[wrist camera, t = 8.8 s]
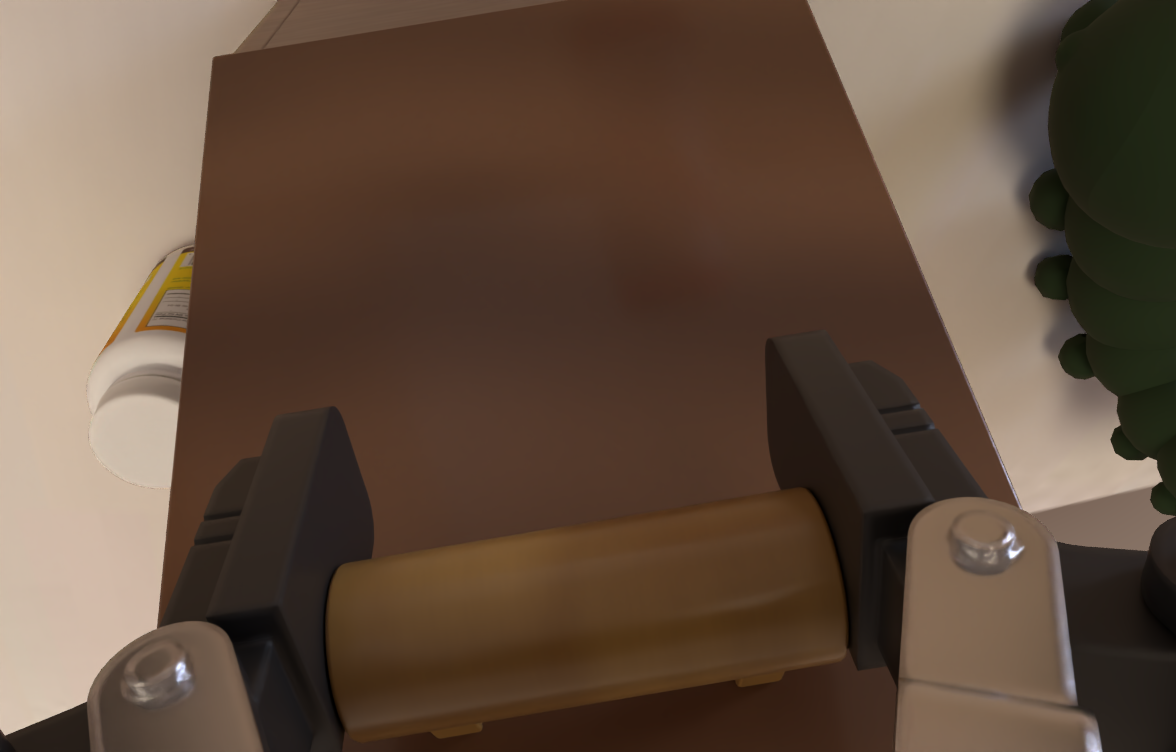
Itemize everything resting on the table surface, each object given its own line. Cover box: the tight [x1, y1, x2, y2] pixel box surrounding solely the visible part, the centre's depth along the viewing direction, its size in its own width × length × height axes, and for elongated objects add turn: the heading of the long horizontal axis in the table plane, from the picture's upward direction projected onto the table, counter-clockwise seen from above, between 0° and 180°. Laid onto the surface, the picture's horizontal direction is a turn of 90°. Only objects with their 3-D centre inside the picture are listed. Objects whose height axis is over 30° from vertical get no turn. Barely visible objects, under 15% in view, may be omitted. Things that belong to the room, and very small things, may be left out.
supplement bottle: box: [86, 244, 195, 489], centre depth 35 cm, size 6×6×10 cm
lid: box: [157, 0, 1023, 752], centre depth 16 cm, size 18×14×6 cm
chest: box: [234, 0, 562, 53], centre depth 33 cm, size 18×14×12 cm
